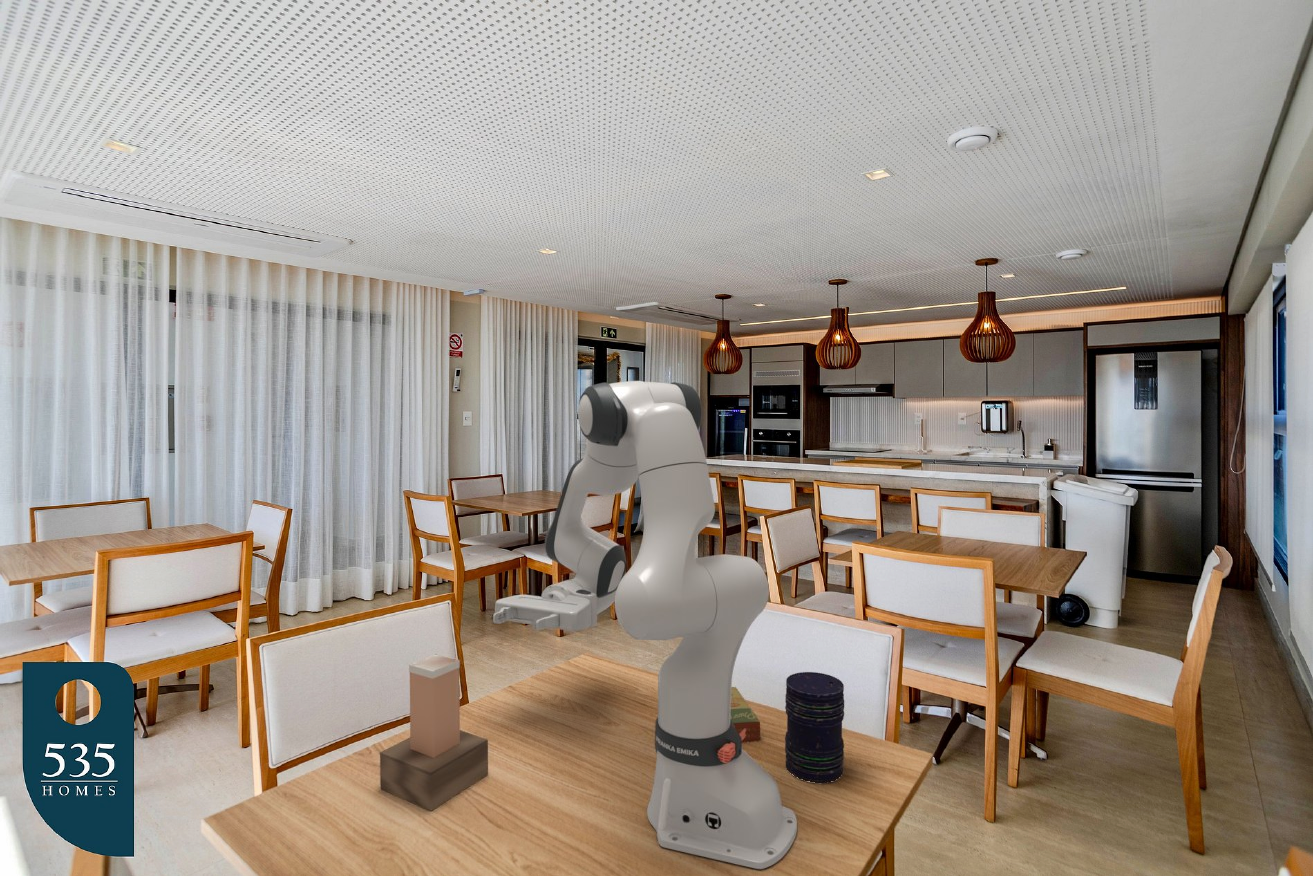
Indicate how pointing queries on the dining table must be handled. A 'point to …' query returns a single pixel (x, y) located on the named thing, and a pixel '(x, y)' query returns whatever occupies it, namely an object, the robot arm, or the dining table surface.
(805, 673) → the storage jar
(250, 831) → the dining table surface
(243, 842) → the dining table surface
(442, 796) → the wooden block
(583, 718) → the dining table surface
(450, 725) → the tall carton
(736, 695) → the carton
